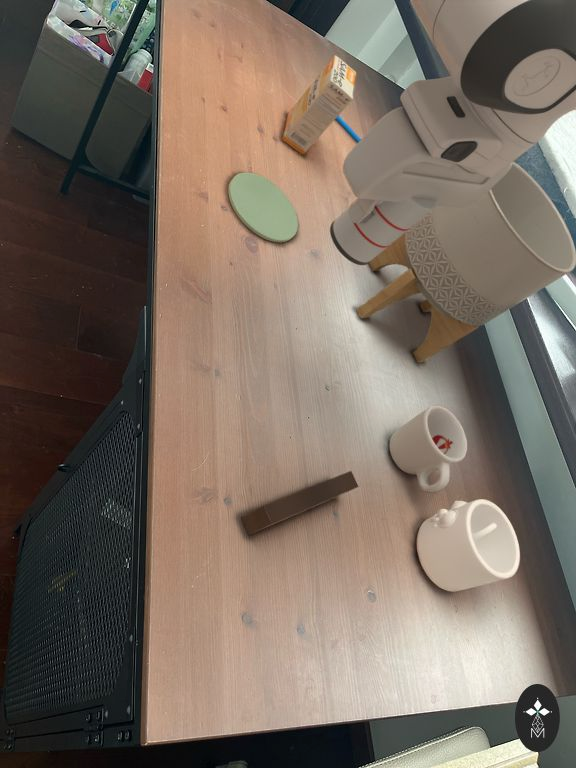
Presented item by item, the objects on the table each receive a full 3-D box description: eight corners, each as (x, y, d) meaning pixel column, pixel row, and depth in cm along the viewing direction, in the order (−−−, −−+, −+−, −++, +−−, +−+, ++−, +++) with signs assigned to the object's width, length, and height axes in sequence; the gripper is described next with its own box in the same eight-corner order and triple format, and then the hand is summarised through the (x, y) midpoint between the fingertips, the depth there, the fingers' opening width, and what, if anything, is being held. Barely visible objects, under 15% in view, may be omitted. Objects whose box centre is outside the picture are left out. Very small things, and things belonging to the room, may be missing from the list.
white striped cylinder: (399, 280, 62) (421, 161, 58) (316, 258, 69) (330, 150, 65) (432, 277, 66) (454, 166, 62) (350, 256, 73) (365, 155, 69)
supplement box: (286, 112, 107) (334, 52, 98) (308, 129, 109) (357, 72, 100) (280, 139, 102) (330, 78, 93) (303, 156, 104) (354, 98, 95)
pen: (396, 185, 120) (400, 181, 120) (326, 111, 116) (330, 107, 116) (397, 183, 121) (401, 179, 120) (328, 110, 117) (332, 105, 116)
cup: (430, 506, 84) (477, 487, 79) (388, 496, 80) (434, 476, 75) (418, 434, 90) (461, 412, 84) (378, 421, 86) (421, 398, 80)
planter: (384, 369, 92) (535, 272, 74) (333, 261, 96) (464, 145, 78) (451, 356, 105) (593, 271, 87) (403, 261, 109) (530, 162, 91)
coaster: (248, 242, 86) (250, 239, 85) (215, 171, 88) (217, 168, 88) (307, 242, 94) (309, 240, 93) (276, 178, 96) (278, 175, 96)
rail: (248, 535, 65) (271, 524, 62) (240, 517, 65) (263, 505, 62) (335, 497, 74) (358, 486, 71) (328, 482, 75) (351, 470, 72)
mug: (438, 494, 86) (491, 473, 80) (479, 558, 86) (536, 542, 79) (397, 537, 78) (452, 517, 72) (442, 609, 77) (502, 595, 71)
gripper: (515, 116, 64) (418, 200, 74) (399, 77, 50) (298, 188, 60) (545, 165, 63) (442, 245, 72) (434, 140, 49) (325, 243, 58)
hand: (376, 219), depth 66 cm, fingers closed on white striped cylinder, 6 cm apart
